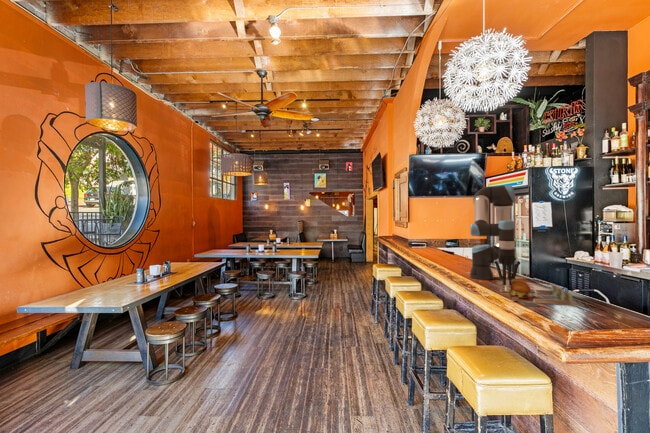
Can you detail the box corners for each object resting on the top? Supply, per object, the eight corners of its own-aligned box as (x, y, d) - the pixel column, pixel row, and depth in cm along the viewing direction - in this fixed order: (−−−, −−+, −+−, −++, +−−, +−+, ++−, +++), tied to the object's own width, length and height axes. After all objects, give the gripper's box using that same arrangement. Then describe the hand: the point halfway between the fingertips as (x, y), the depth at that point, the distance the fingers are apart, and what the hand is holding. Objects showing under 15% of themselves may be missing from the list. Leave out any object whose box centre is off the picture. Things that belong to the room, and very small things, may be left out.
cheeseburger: (522, 293, 172) (525, 277, 169) (533, 303, 161) (536, 286, 159) (504, 293, 172) (506, 277, 170) (513, 303, 162) (516, 286, 160)
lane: (500, 291, 177) (500, 283, 177) (553, 293, 170) (553, 285, 170) (512, 301, 157) (512, 292, 157) (572, 304, 150) (572, 294, 150)
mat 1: (518, 289, 181) (518, 289, 181) (531, 290, 179) (531, 290, 179) (521, 292, 175) (521, 292, 175) (535, 292, 173) (535, 292, 173)
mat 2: (519, 302, 156) (519, 302, 156) (534, 303, 154) (534, 302, 154) (523, 305, 150) (523, 305, 150) (539, 306, 148) (539, 306, 148)
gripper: (495, 249, 165) (495, 292, 165) (522, 249, 161) (522, 293, 162) (491, 247, 172) (492, 288, 172) (517, 247, 169) (518, 290, 169)
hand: (507, 291), depth 167 cm, fingers closed
